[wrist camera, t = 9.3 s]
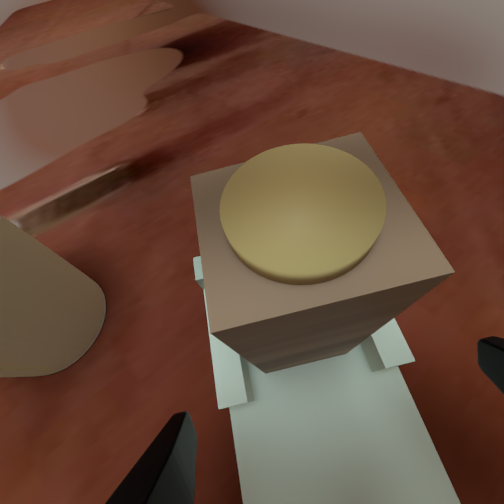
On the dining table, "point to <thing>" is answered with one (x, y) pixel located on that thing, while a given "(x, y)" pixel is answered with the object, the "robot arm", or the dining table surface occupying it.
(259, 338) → the walnut block
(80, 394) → the dining table surface
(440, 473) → the sage cradle
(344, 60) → the dining table surface
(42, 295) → the coffee cup
